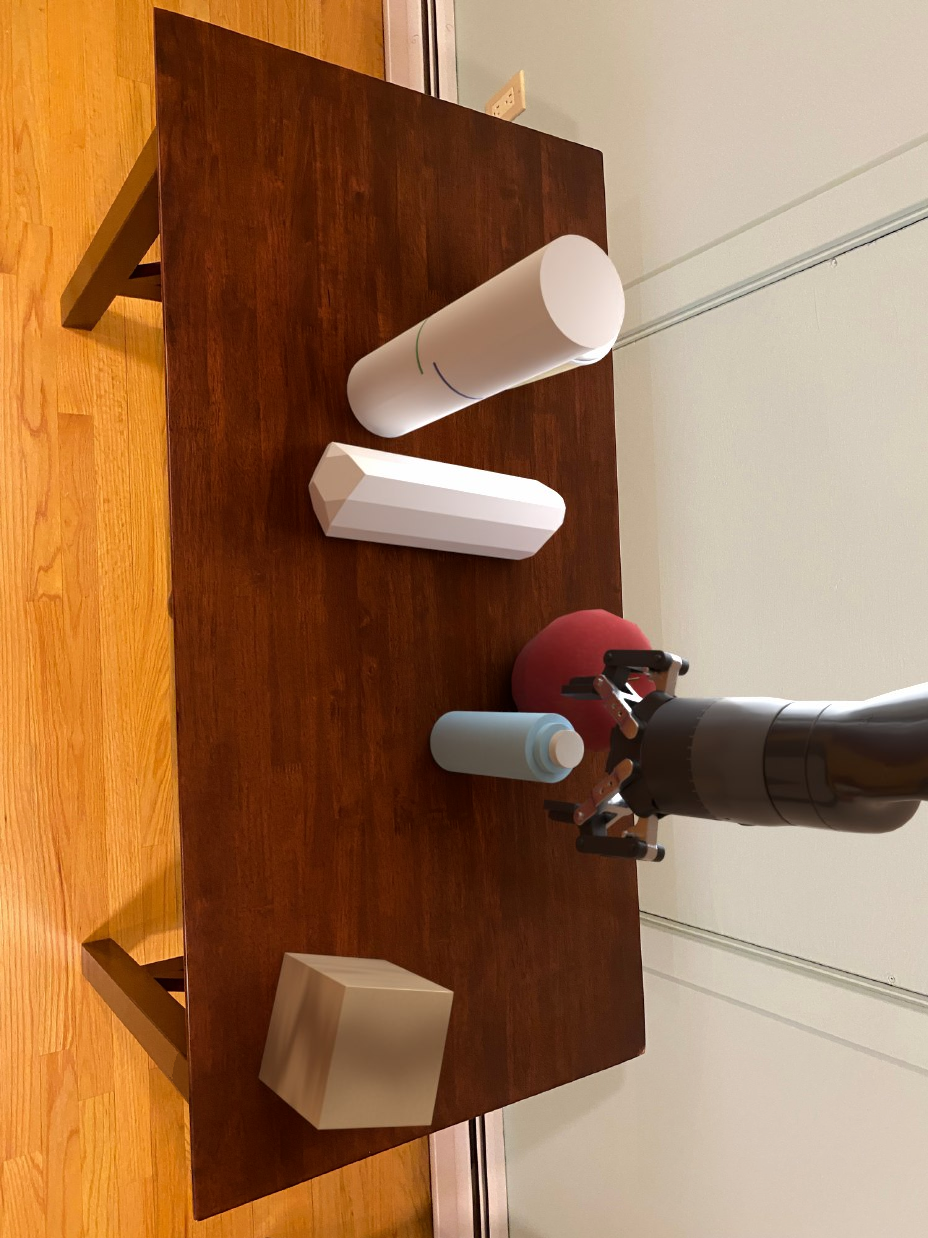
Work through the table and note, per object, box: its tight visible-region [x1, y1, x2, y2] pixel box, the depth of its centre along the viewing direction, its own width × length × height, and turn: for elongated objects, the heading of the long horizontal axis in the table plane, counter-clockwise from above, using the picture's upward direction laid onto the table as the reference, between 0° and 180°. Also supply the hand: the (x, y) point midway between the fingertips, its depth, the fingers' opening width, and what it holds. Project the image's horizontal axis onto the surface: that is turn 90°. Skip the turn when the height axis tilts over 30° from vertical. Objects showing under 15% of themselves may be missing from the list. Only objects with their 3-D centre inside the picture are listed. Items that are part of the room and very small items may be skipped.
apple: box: [511, 608, 656, 753], centre depth 81 cm, size 12×12×13 cm
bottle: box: [429, 710, 585, 784], centre depth 75 cm, size 5×5×15 cm
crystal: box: [308, 441, 566, 561], centre depth 79 cm, size 7×7×24 cm
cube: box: [258, 952, 454, 1131], centre depth 68 cm, size 9×9×10 cm
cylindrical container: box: [346, 234, 626, 439], centre depth 69 cm, size 7×7×25 cm
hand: (560, 748), depth 69 cm, fingers open, 8 cm apart
